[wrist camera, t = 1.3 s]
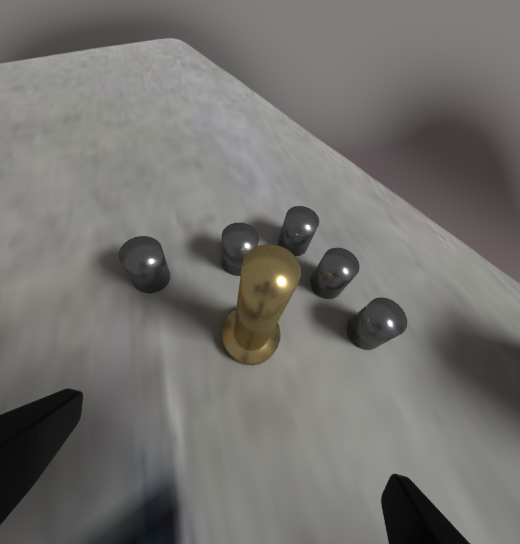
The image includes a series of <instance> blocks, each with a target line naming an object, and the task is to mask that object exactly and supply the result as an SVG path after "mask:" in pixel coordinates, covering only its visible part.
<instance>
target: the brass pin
mask: <svg viewBox="0 0 520 544" xmlns="http://www.w3.org/2000/svg"><path fill="white" fill-rule="evenodd" d="M300 278H301V267H300V264H299V262H298V260H297V258H296V257H295V256H294V255H293V254H292V253H291V252H290V251H289V250H287V249H285V248H283V247H281V246H278V245H273V244H265V245H260V246H257V247H255V248H253V249H251V250H250V251H249V252H248V253H247V254H246V256H245V257H244V259H243V263H242V270H241V277H240V285H239V293H238V300H237V308H236V310H234V311H233V312H232V313H230V315H229V316H228V317H227V318H226V320H225V322H224V325H223V329H222V342H223V346H224V348H225V350H226V352H227V353H228V355H229V356H230V357H231V358H232V359H234V360H235V361H237V362H239V363H241V364H244V365H257V364H260V363H263V362H265V361H266V360H268V359H269V358H270V357H271V356H272V355H273V353H274V352H275V350H276V349H277V347H278V345H279V342H280V328H279V325H278V321H279V319H280V317H281V315H282V313H283V311H284V309H285V307H286V305H287V304H288V302H289V300H290V298H291V296H292V294H293V292H294V290H295V288H296V286H297V285H298V283H299V281H300Z"/></svg>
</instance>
